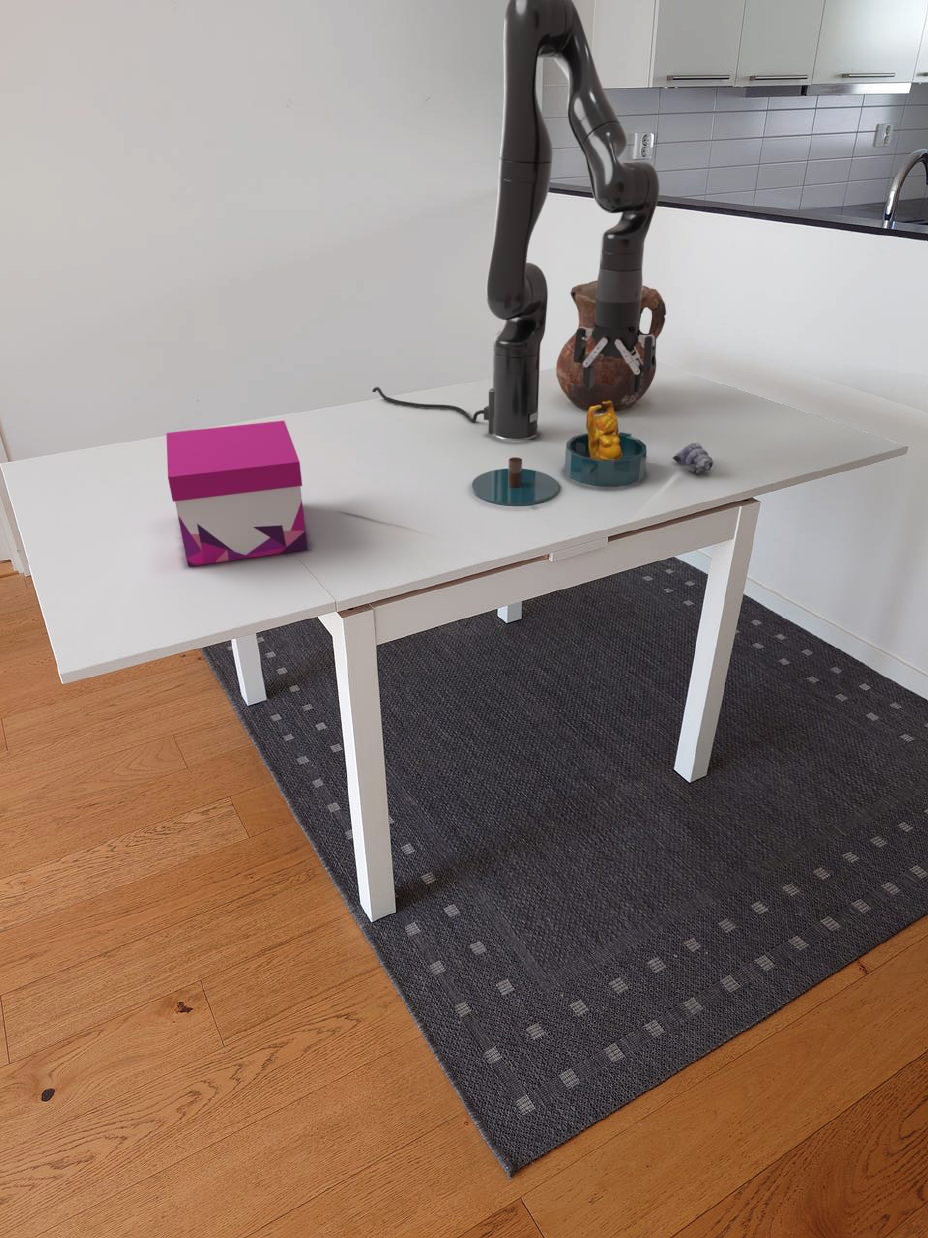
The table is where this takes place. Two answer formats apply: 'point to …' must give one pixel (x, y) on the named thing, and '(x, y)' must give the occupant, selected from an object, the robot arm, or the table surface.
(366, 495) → the table surface
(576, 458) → the pot
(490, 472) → the lid
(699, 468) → the seashell
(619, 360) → the jug
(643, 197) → the robot arm
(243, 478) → the decorative box
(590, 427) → the figurine
